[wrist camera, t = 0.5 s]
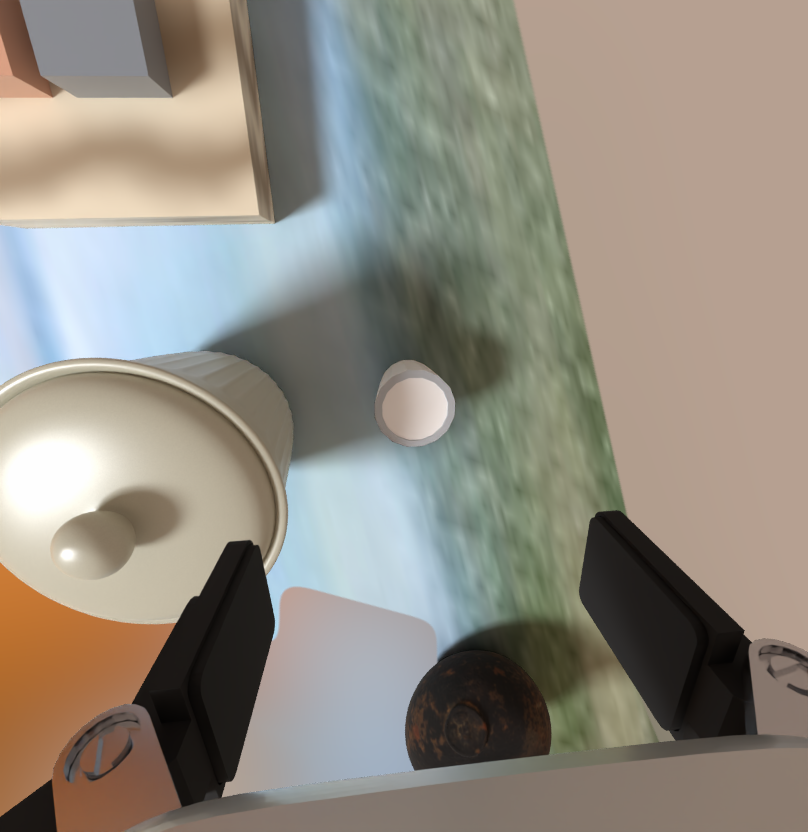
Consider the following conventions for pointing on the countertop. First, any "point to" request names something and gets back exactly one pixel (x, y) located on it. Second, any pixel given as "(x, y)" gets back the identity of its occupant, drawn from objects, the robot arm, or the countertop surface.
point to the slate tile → (99, 47)
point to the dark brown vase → (475, 713)
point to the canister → (139, 478)
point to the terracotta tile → (18, 57)
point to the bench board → (147, 139)
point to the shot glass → (413, 404)
